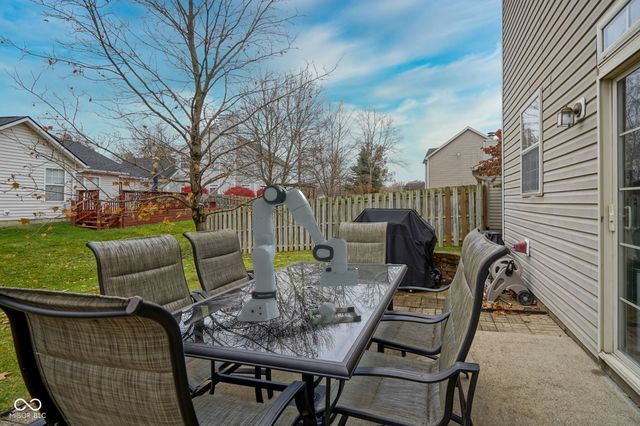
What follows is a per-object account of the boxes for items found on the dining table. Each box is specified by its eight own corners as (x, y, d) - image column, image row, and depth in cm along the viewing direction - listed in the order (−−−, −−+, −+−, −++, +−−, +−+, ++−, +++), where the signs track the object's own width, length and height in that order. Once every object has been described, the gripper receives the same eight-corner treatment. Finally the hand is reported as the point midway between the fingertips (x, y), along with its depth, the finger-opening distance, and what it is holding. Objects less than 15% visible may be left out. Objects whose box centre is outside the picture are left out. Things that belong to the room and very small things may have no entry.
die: (338, 317, 183) (331, 301, 188) (337, 313, 176) (329, 296, 181) (324, 324, 182) (317, 307, 187) (322, 320, 175) (315, 303, 180)
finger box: (311, 325, 171) (310, 319, 171) (309, 314, 191) (308, 309, 191) (361, 321, 173) (361, 315, 173) (354, 311, 193) (354, 306, 193)
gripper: (357, 266, 187) (357, 292, 187) (319, 267, 185) (319, 293, 185) (359, 268, 181) (360, 295, 180) (320, 269, 179) (320, 296, 179)
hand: (339, 294), depth 183 cm, fingers closed
